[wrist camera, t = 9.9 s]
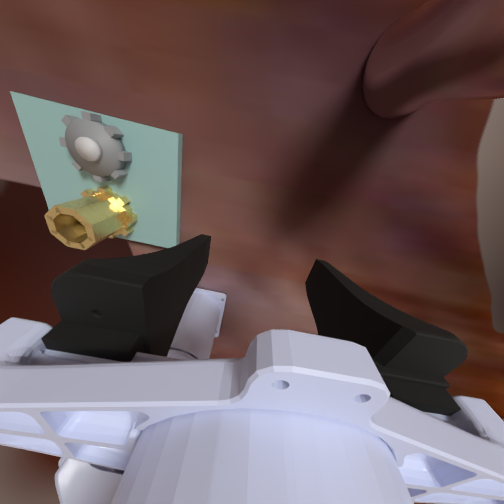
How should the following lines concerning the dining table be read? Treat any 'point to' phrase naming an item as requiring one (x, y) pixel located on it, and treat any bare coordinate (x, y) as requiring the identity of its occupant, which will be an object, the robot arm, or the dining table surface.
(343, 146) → the dining table surface
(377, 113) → the beer glass
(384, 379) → the robot arm
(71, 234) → the planet gear
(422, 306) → the dining table surface
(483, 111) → the dining table surface
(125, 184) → the carrier plate
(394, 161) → the dining table surface
